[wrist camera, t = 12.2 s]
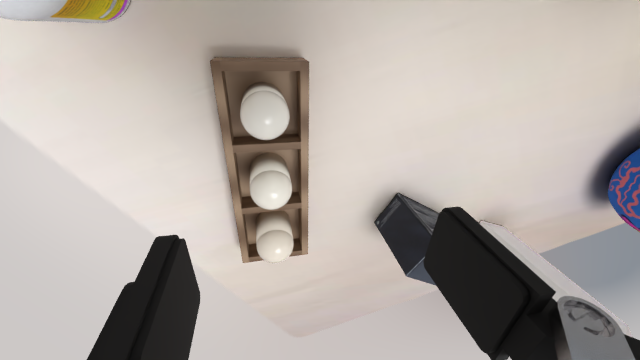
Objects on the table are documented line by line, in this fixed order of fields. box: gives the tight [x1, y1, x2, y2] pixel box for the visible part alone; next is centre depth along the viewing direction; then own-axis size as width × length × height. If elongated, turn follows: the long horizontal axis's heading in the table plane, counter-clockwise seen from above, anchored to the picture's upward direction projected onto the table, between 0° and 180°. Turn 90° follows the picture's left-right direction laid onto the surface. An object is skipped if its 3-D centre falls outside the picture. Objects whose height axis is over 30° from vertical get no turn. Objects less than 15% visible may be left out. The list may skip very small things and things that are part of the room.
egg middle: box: [250, 153, 292, 210], centre depth 29 cm, size 4×4×7 cm
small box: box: [375, 193, 439, 285], centre depth 38 cm, size 11×6×10 cm, turn 58°
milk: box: [479, 221, 633, 338], centre depth 39 cm, size 6×6×22 cm
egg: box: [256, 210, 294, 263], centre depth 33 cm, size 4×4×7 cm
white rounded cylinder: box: [240, 82, 290, 140], centre depth 25 cm, size 4×4×7 cm
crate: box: [210, 57, 309, 263], centre depth 31 cm, size 24×9×3 cm, turn 178°
